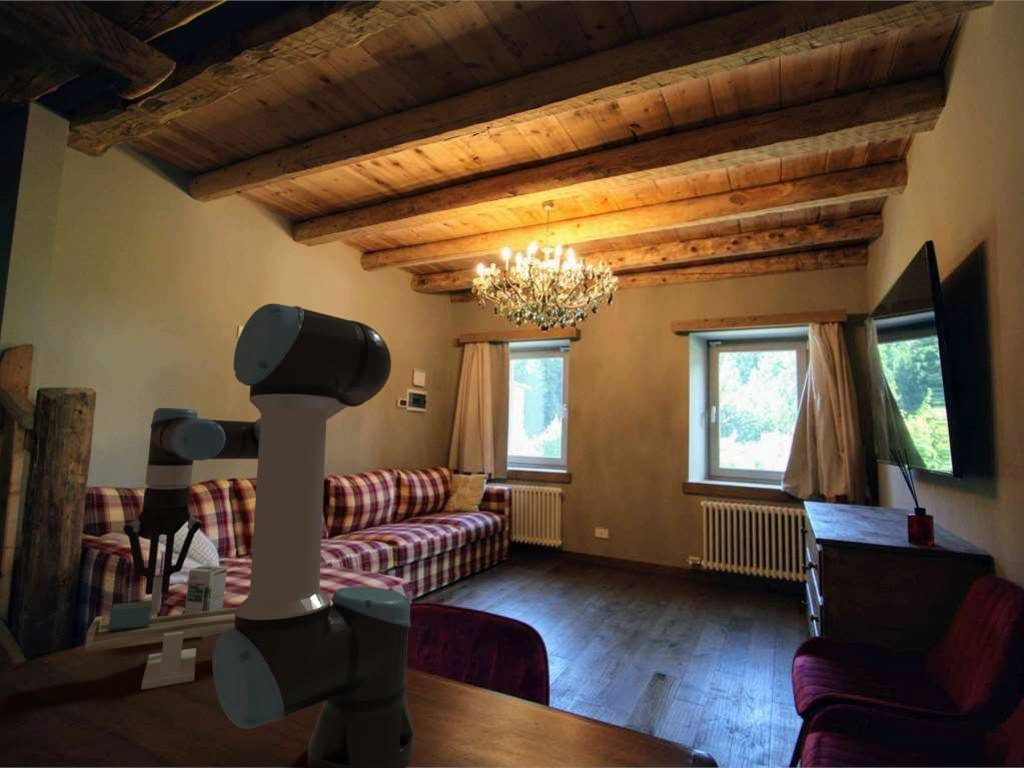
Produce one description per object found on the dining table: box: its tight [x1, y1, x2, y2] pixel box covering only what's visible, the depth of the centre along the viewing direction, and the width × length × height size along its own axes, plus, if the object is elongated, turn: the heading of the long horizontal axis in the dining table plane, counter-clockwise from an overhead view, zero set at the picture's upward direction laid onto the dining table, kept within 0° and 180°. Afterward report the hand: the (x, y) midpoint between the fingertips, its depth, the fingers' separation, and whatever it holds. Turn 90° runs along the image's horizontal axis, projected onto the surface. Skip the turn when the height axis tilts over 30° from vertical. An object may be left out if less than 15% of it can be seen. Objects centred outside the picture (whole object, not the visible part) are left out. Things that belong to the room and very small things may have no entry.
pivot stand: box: [141, 631, 197, 691], centre depth 99 cm, size 13×8×9 cm, turn 31°
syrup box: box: [184, 564, 228, 639], centre depth 118 cm, size 6×6×14 cm
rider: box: [108, 600, 152, 633], centre depth 96 cm, size 4×6×4 cm, turn 120°
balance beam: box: [84, 607, 237, 653], centre depth 99 cm, size 9×26×6 cm, turn 121°
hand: (155, 610), depth 98 cm, fingers closed
